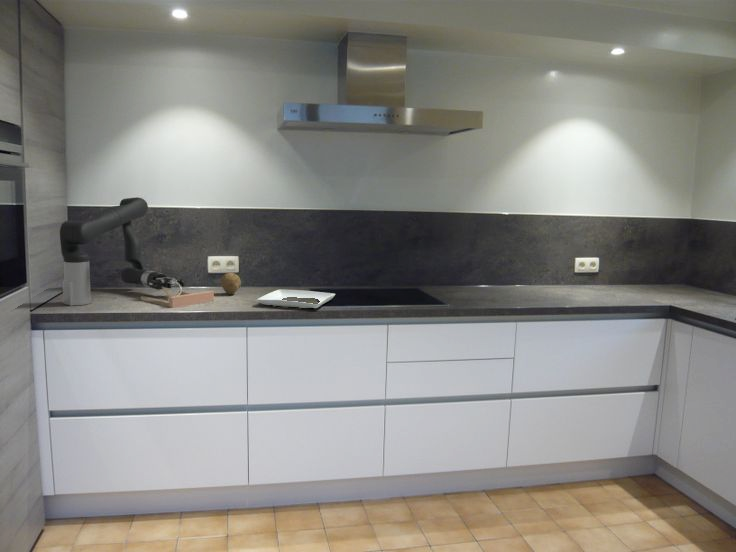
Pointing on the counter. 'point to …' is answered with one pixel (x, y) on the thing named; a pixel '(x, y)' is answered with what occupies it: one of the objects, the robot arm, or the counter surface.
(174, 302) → the bar
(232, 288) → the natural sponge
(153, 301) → the birch track
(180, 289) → the ring
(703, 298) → the counter surface
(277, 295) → the square plate
